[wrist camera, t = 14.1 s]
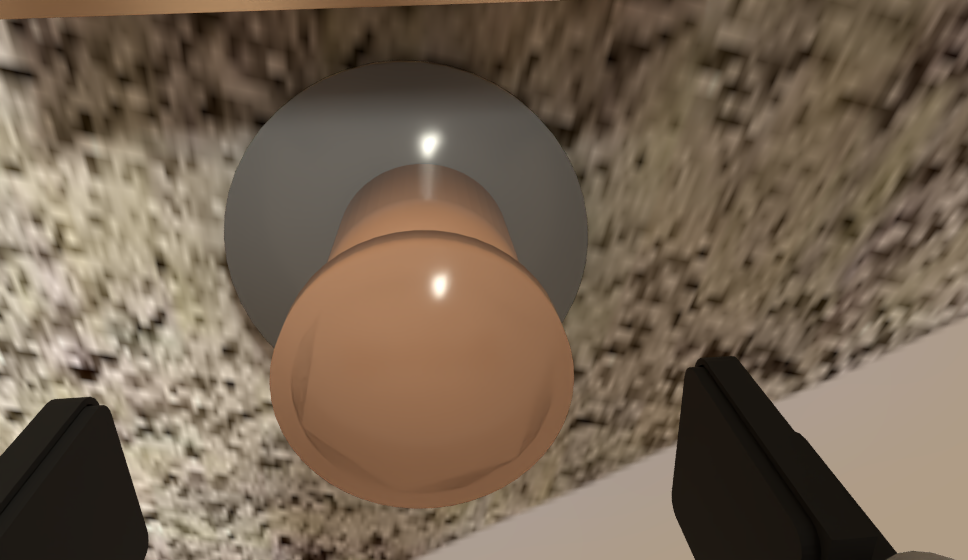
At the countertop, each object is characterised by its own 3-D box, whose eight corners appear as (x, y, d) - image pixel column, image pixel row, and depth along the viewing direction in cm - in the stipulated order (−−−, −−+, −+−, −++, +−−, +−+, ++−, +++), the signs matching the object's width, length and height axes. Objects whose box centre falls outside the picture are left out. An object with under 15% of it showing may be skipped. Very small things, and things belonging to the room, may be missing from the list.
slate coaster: (588, 52, 20) (594, 55, 19) (577, 378, 24) (583, 391, 23) (199, 67, 19) (189, 70, 18) (261, 400, 23) (256, 414, 23)
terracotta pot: (521, 145, 20) (578, 239, 13) (522, 328, 22) (570, 497, 15) (311, 155, 20) (246, 257, 12) (335, 340, 22) (292, 519, 15)
